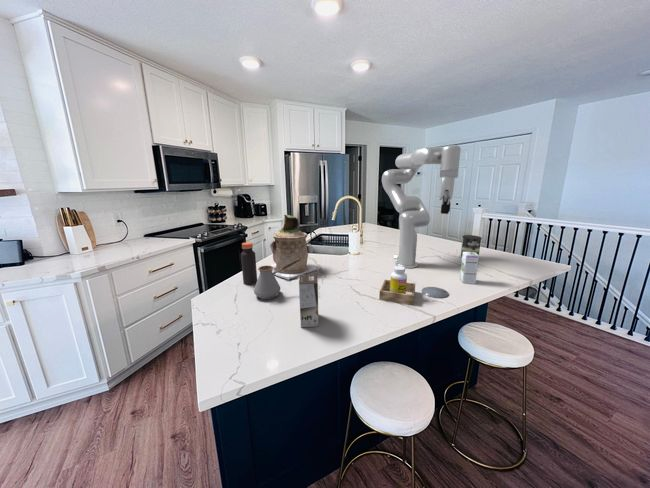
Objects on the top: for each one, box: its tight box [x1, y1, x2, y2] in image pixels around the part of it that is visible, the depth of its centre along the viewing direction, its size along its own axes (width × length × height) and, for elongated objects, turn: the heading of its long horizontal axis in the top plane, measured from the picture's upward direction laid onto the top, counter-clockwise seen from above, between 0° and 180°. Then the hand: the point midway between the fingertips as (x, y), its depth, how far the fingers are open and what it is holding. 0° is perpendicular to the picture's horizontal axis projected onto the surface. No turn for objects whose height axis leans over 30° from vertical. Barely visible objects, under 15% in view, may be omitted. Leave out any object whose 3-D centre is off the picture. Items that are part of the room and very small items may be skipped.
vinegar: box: [240, 241, 258, 286], centre depth 126 cm, size 7×7×20 cm
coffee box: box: [298, 273, 319, 328], centre depth 91 cm, size 9×6×16 cm
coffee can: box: [459, 234, 482, 260], centre depth 161 cm, size 10×10×14 cm
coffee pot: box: [253, 260, 301, 300], centre depth 113 cm, size 21×12×15 cm, turn 109°
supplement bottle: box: [389, 265, 408, 294], centre depth 110 cm, size 7×7×13 cm
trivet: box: [421, 286, 450, 299], centre depth 114 cm, size 11×11×1 cm
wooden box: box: [378, 279, 416, 306], centre depth 111 cm, size 13×13×4 cm
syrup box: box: [459, 252, 480, 285], centre depth 125 cm, size 6×6×14 cm
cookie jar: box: [269, 213, 321, 281], centre depth 142 cm, size 25×25×32 cm
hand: (445, 212), depth 121 cm, fingers open, 9 cm apart
